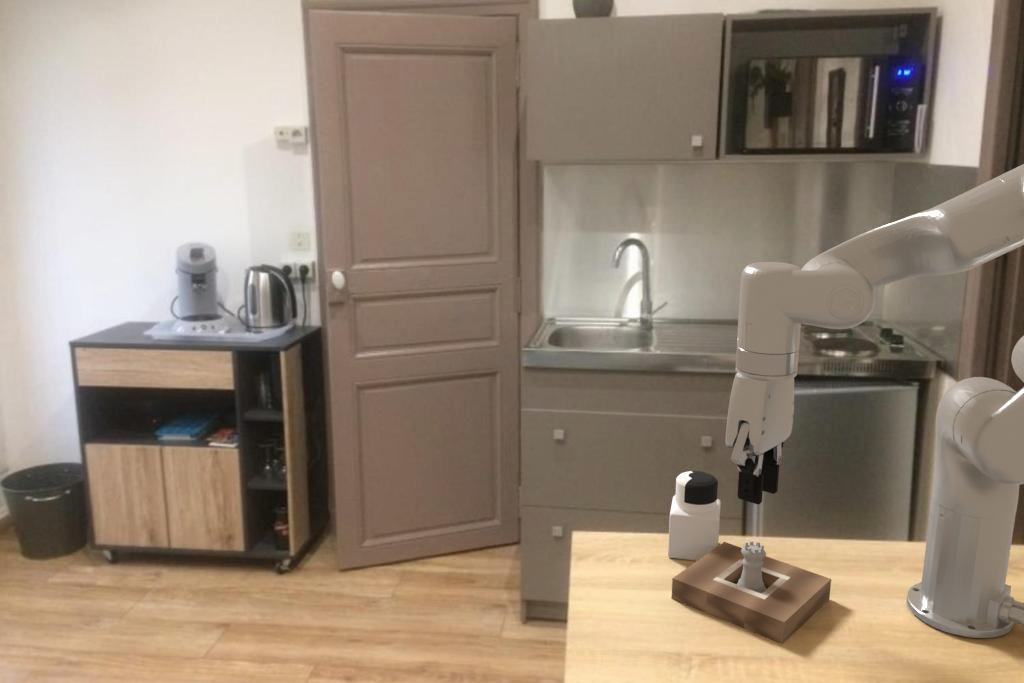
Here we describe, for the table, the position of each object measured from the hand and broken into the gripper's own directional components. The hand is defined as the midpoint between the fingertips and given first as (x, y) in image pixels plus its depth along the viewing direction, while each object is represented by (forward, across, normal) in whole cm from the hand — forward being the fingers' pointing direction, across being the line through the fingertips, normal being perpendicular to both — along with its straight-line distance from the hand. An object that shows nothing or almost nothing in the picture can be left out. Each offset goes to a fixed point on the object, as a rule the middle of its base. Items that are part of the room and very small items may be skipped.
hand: (757, 494), depth 116 cm
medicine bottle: (+15, -7, -13) cm, 21 cm away
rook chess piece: (+15, 0, 0) cm, 15 cm away
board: (+15, 0, 0) cm, 15 cm away
